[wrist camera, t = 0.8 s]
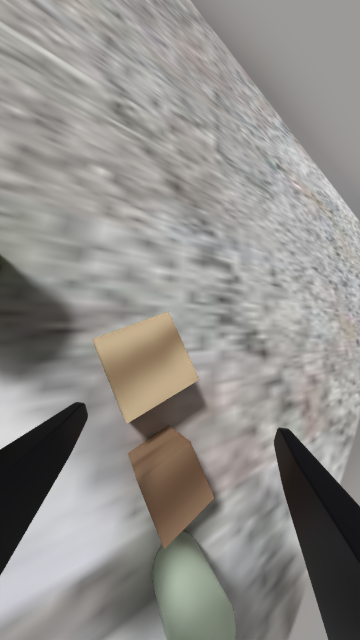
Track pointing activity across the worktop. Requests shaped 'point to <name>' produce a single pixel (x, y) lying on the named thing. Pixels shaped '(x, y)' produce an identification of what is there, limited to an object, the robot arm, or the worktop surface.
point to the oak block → (145, 364)
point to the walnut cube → (170, 482)
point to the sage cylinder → (190, 594)
